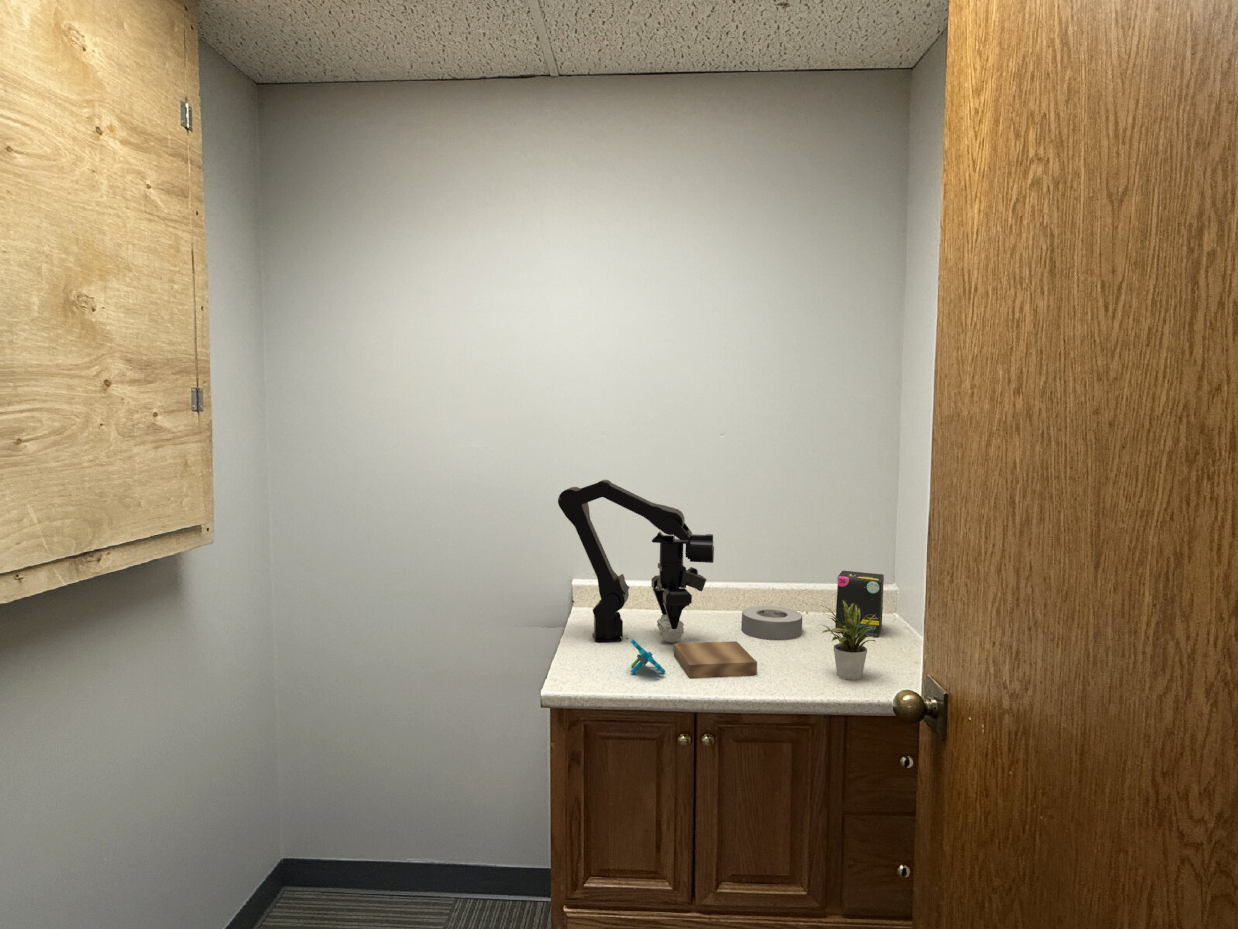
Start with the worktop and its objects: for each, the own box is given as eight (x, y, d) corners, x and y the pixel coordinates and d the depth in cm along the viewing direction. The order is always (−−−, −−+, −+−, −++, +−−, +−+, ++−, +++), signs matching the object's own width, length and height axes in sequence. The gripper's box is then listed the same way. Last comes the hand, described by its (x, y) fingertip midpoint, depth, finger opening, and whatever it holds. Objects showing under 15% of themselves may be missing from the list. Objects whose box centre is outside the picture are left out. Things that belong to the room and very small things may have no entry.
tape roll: (810, 630, 209) (810, 611, 208) (789, 645, 196) (789, 624, 196) (755, 621, 217) (755, 602, 217) (731, 634, 204) (732, 615, 204)
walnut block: (689, 680, 171) (689, 664, 171) (673, 658, 186) (674, 643, 185) (756, 677, 173) (757, 662, 173) (736, 655, 188) (736, 641, 188)
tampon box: (834, 632, 206) (836, 576, 205) (839, 623, 214) (841, 569, 213) (879, 638, 202) (881, 580, 201) (882, 628, 210) (884, 573, 209)
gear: (671, 673, 169) (637, 640, 169) (651, 694, 168) (618, 661, 168) (662, 663, 180) (631, 632, 180) (644, 683, 179) (612, 652, 179)
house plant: (804, 663, 181) (806, 592, 180) (864, 663, 182) (866, 592, 181) (823, 686, 167) (826, 609, 166) (888, 685, 168) (891, 608, 167)
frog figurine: (652, 640, 198) (653, 612, 198) (679, 637, 200) (679, 610, 200) (661, 647, 192) (661, 618, 192) (688, 645, 194) (688, 616, 194)
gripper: (713, 568, 187) (712, 633, 188) (694, 553, 205) (692, 612, 206) (667, 569, 185) (665, 635, 186) (651, 553, 203) (650, 614, 205)
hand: (670, 623), depth 196 cm, fingers open, 9 cm apart
